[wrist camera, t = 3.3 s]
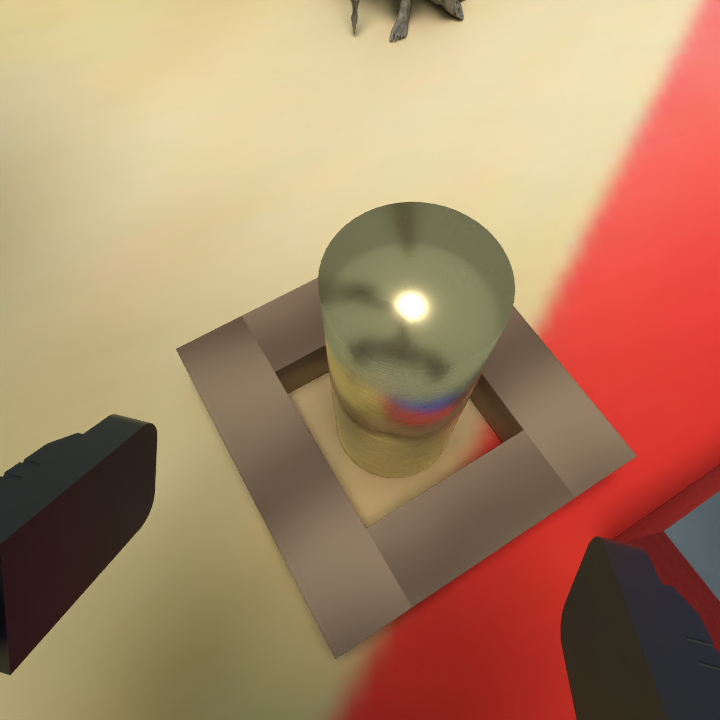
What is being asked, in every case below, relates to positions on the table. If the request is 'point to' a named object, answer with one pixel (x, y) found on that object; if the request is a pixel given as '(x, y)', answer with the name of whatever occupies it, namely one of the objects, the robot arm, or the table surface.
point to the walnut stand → (425, 512)
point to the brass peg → (409, 328)
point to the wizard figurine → (401, 25)
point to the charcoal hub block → (687, 547)
